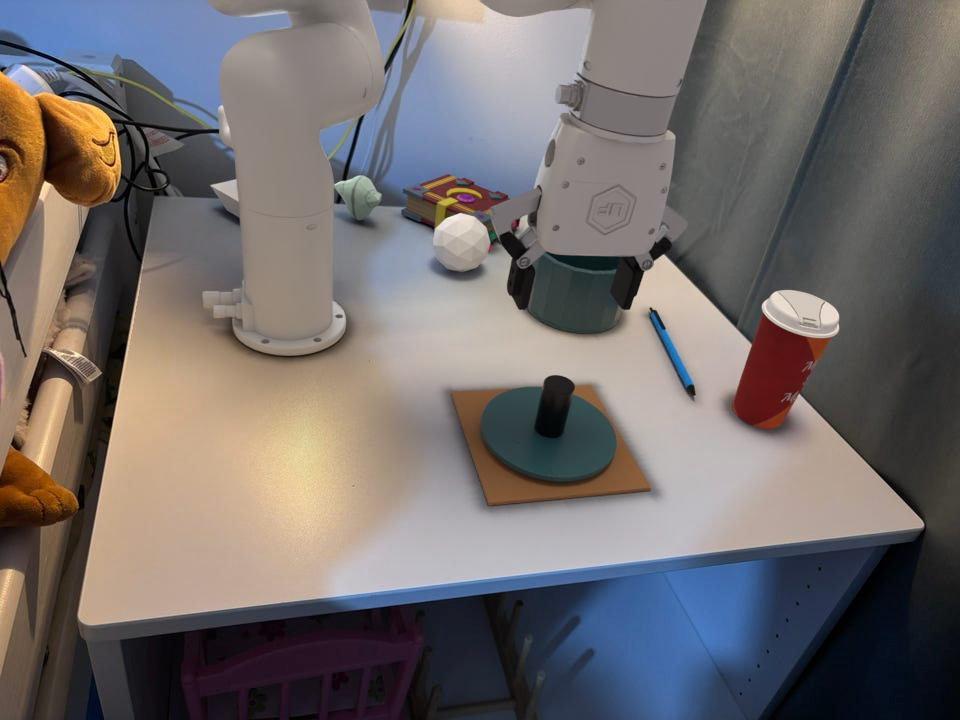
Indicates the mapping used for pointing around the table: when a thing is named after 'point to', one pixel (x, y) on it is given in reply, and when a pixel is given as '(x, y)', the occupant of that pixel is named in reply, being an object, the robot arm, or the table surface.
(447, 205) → the decorative book
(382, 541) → the table surface
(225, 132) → the figurine
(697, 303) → the table surface
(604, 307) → the pot
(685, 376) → the pen
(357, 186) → the pale green seashell
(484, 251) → the geometric ball
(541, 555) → the table surface
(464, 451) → the table surface
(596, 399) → the mat
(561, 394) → the lid
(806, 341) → the paper cup
